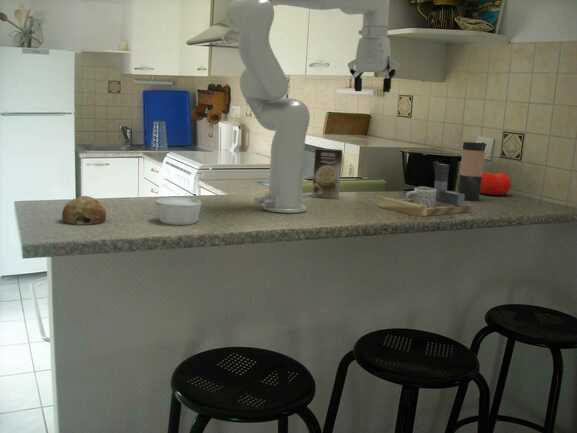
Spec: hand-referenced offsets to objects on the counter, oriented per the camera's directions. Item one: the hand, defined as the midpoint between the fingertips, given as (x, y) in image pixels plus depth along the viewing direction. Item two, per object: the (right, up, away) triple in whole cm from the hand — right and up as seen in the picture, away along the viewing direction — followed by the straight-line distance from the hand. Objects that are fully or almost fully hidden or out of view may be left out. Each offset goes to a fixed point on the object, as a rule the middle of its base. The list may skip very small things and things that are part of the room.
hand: (372, 91), depth 193 cm
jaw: (+22, -33, +7) cm, 41 cm away
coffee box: (-13, -32, +18) cm, 39 cm away
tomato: (+52, -30, +48) cm, 77 cm away
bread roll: (-75, -40, -41) cm, 94 cm away
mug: (+15, -36, +2) cm, 39 cm away
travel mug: (+38, -32, +31) cm, 59 cm away
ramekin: (-53, -40, -35) cm, 75 cm away
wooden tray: (+17, -36, +4) cm, 40 cm away
